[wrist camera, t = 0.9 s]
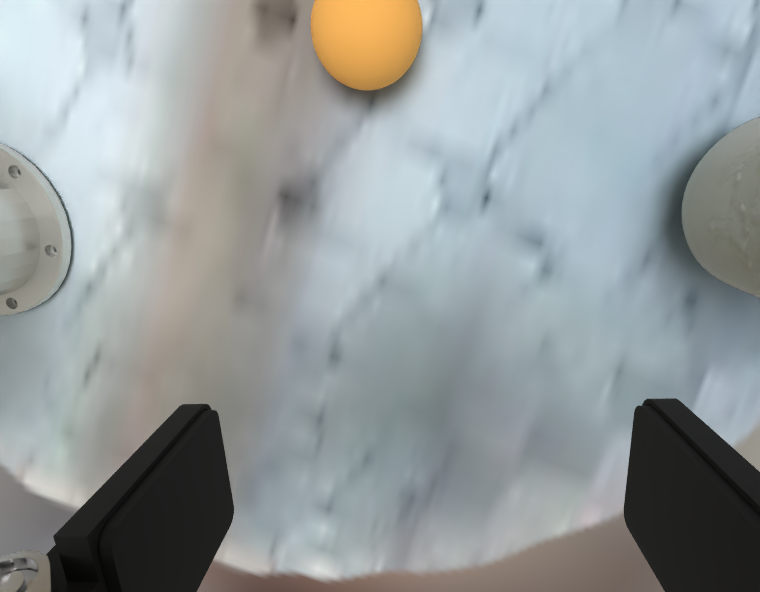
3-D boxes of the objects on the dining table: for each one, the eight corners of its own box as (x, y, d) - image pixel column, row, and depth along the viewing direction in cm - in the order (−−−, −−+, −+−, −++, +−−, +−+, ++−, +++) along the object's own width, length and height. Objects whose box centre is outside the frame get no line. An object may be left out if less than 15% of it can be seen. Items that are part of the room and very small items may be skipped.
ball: (314, 83, 29) (287, 62, 23) (335, -25, 27) (312, -77, 21) (406, 108, 28) (403, 93, 23) (434, 1, 27) (437, -44, 21)
